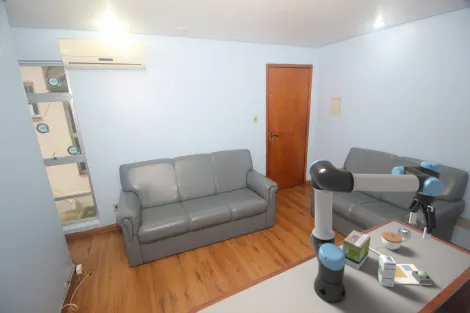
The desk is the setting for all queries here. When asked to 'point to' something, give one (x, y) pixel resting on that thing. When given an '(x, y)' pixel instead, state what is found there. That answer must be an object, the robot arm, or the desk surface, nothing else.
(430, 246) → the desk surface
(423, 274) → the button
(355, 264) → the tea box
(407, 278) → the white button panel
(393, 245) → the lidded jar
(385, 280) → the syrup box
